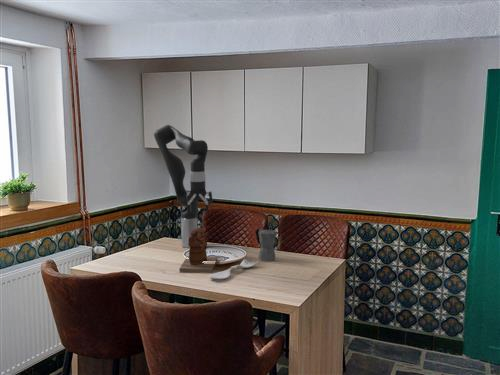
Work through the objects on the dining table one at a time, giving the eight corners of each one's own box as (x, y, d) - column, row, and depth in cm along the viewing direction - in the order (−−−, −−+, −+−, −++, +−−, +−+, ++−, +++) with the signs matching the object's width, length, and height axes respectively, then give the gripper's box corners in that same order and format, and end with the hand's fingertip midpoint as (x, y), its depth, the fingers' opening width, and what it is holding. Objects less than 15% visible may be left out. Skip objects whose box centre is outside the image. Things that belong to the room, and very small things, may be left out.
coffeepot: (282, 259, 260) (282, 227, 258) (269, 263, 254) (270, 229, 251) (261, 254, 271) (261, 222, 269) (249, 257, 265) (249, 225, 262)
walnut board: (187, 259, 261) (187, 256, 260) (217, 260, 260) (217, 256, 260) (179, 272, 239) (179, 268, 239) (211, 272, 238) (211, 268, 238)
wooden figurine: (198, 266, 242) (198, 230, 240) (187, 264, 245) (186, 229, 242) (209, 259, 253) (209, 226, 251) (198, 258, 256) (198, 225, 253)
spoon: (259, 267, 248) (259, 260, 248) (219, 284, 222) (219, 276, 222) (245, 264, 253) (245, 257, 253) (204, 280, 228) (204, 273, 227)
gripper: (182, 181, 241) (183, 213, 243) (211, 181, 240) (211, 213, 243) (185, 179, 248) (185, 210, 251) (212, 179, 248) (213, 210, 250)
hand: (198, 211), depth 247 cm, fingers open, 8 cm apart
